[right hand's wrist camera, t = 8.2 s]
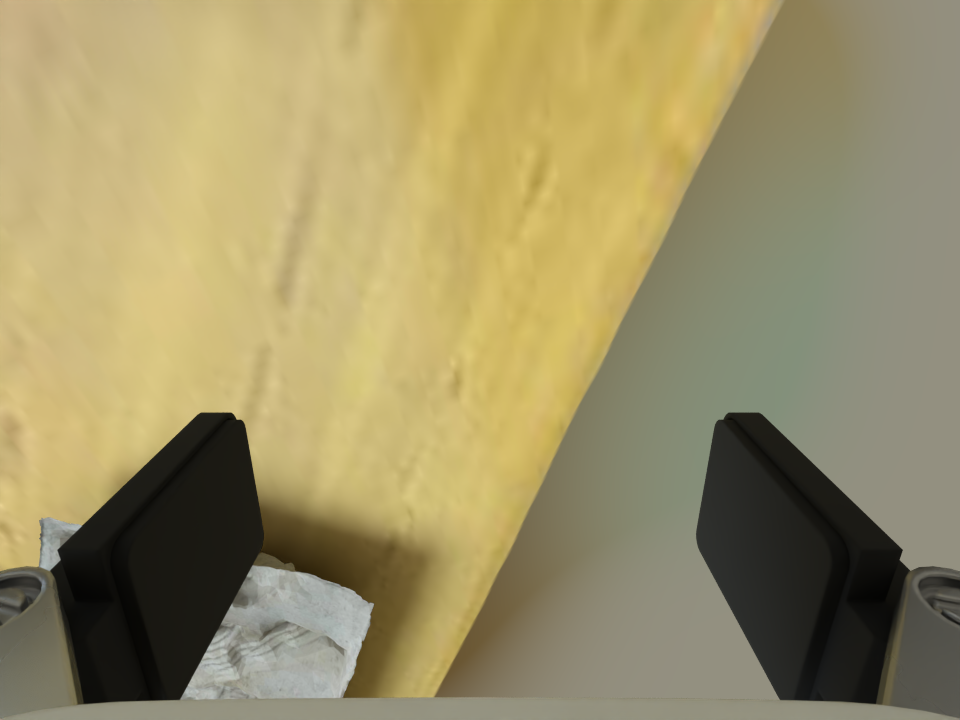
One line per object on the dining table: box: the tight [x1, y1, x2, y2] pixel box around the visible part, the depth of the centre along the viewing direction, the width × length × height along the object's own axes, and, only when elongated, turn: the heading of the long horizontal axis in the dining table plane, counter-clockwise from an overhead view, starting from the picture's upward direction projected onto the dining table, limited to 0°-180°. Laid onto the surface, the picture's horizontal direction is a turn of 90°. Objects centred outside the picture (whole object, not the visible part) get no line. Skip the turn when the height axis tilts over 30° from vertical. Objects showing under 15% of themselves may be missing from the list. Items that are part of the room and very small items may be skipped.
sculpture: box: [39, 517, 374, 700], centre depth 55 cm, size 38×6×30 cm
